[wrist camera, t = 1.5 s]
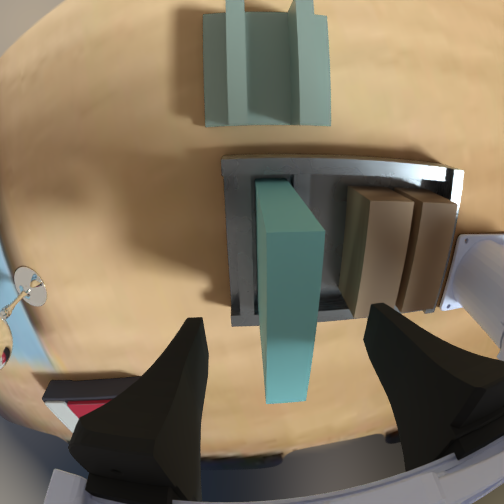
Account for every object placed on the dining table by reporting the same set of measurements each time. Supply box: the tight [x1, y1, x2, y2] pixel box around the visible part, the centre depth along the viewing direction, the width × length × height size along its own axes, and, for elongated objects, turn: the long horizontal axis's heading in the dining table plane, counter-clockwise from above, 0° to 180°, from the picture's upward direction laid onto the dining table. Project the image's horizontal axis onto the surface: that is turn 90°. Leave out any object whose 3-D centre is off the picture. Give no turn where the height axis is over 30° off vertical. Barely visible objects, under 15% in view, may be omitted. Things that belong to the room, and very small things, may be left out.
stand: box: [203, 0, 331, 127], centre depth 15 cm, size 8×8×4 cm
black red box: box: [42, 376, 141, 433], centre depth 29 cm, size 11×4×15 cm
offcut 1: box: [338, 186, 414, 318], centre depth 19 cm, size 3×8×4 cm, turn 1°
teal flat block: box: [255, 178, 325, 404], centre depth 16 cm, size 2×9×10 cm, turn 2°
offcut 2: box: [394, 187, 458, 313], centre depth 19 cm, size 3×8×4 cm, turn 1°
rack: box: [221, 154, 464, 327], centre depth 21 cm, size 17×12×3 cm
